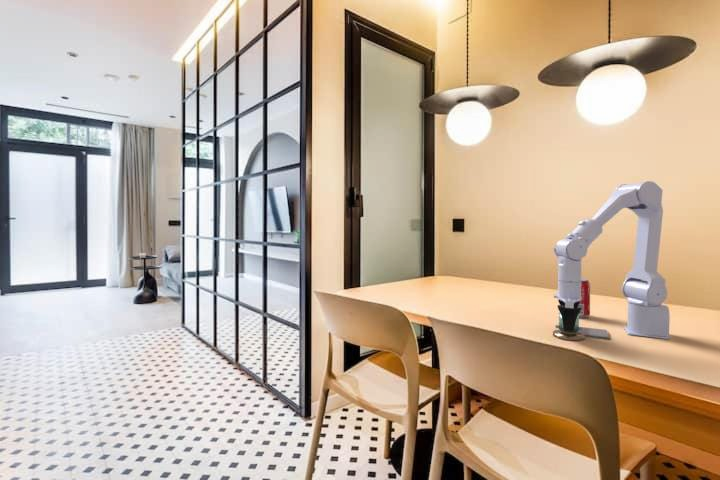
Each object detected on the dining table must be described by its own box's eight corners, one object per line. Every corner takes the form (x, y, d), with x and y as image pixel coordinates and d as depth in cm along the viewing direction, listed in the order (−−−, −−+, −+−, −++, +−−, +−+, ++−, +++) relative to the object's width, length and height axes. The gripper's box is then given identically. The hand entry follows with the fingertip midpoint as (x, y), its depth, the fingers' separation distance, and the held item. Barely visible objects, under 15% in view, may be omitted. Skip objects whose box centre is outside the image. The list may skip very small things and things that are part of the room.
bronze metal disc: (584, 334, 107) (584, 327, 107) (585, 342, 100) (585, 335, 100) (553, 330, 111) (553, 324, 111) (552, 338, 104) (552, 331, 104)
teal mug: (581, 328, 106) (581, 313, 106) (582, 333, 102) (582, 317, 101) (555, 325, 109) (556, 311, 109) (555, 330, 105) (555, 315, 105)
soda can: (593, 319, 123) (594, 280, 123) (570, 318, 125) (570, 280, 124) (585, 313, 130) (585, 277, 130) (563, 312, 132) (563, 277, 131)
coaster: (606, 331, 109) (606, 329, 109) (609, 339, 102) (609, 337, 102) (575, 328, 113) (575, 326, 113) (576, 335, 106) (576, 333, 106)
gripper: (554, 276, 113) (553, 319, 114) (552, 283, 100) (552, 332, 101) (580, 277, 110) (580, 322, 110) (583, 285, 97) (582, 336, 98)
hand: (568, 327), depth 105 cm, fingers open, 7 cm apart
